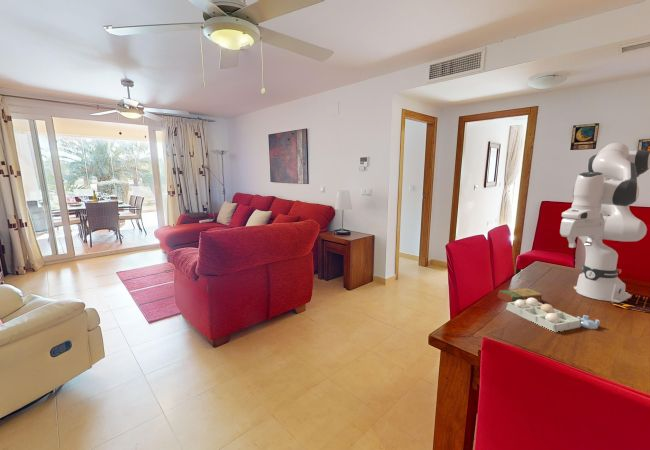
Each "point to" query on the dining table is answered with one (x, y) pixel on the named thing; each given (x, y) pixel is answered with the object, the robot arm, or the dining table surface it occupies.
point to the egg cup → (588, 322)
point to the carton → (518, 295)
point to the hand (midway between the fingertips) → (580, 246)
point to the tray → (539, 317)
